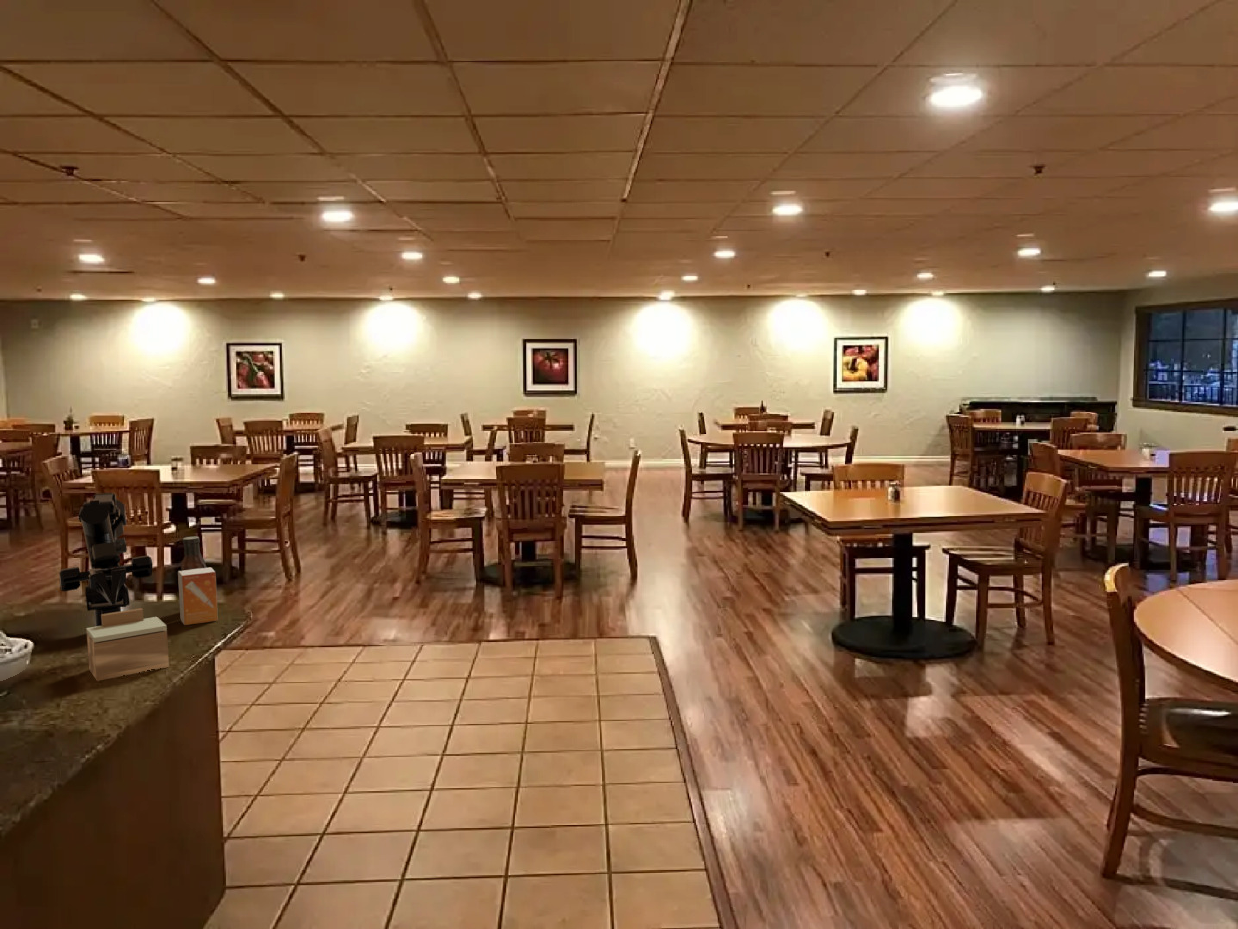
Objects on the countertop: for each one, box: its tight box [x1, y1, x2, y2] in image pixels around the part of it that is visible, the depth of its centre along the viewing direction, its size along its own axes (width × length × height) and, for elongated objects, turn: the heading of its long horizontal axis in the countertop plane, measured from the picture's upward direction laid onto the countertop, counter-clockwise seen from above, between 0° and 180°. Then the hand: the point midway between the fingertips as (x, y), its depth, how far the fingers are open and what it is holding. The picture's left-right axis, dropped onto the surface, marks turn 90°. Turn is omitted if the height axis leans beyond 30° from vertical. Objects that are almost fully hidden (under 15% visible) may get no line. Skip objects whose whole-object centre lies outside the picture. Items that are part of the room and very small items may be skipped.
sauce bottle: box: [180, 536, 208, 571], centre depth 249 cm, size 6×6×20 cm
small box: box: [177, 567, 219, 626], centre depth 240 cm, size 8×6×13 cm
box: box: [86, 630, 170, 682], centre depth 204 cm, size 9×14×8 cm, turn 128°
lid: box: [85, 607, 168, 643], centre depth 203 cm, size 9×14×4 cm, turn 128°
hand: (113, 604), depth 213 cm, fingers closed
